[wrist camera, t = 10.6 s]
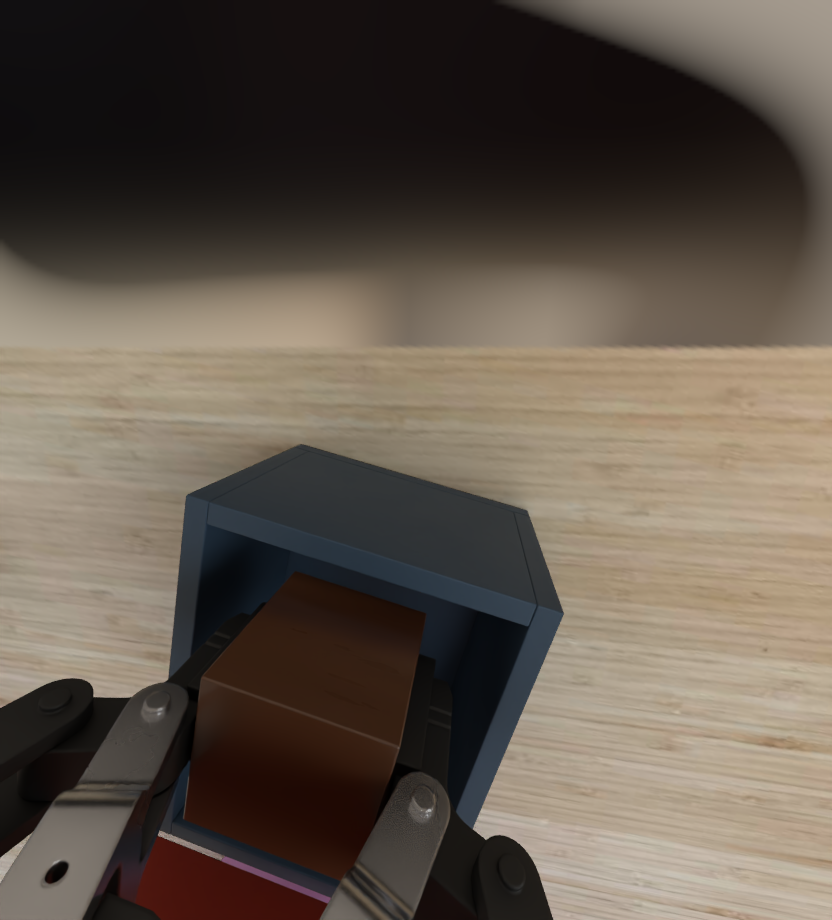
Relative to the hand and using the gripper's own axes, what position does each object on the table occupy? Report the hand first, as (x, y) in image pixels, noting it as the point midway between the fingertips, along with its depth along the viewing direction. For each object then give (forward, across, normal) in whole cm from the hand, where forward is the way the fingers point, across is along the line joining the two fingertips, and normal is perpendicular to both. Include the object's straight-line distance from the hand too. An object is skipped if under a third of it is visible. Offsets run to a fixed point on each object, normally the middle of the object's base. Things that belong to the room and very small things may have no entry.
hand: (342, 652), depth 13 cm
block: (0, 0, 0) cm, 0 cm away
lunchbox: (+8, 0, +4) cm, 9 cm away
